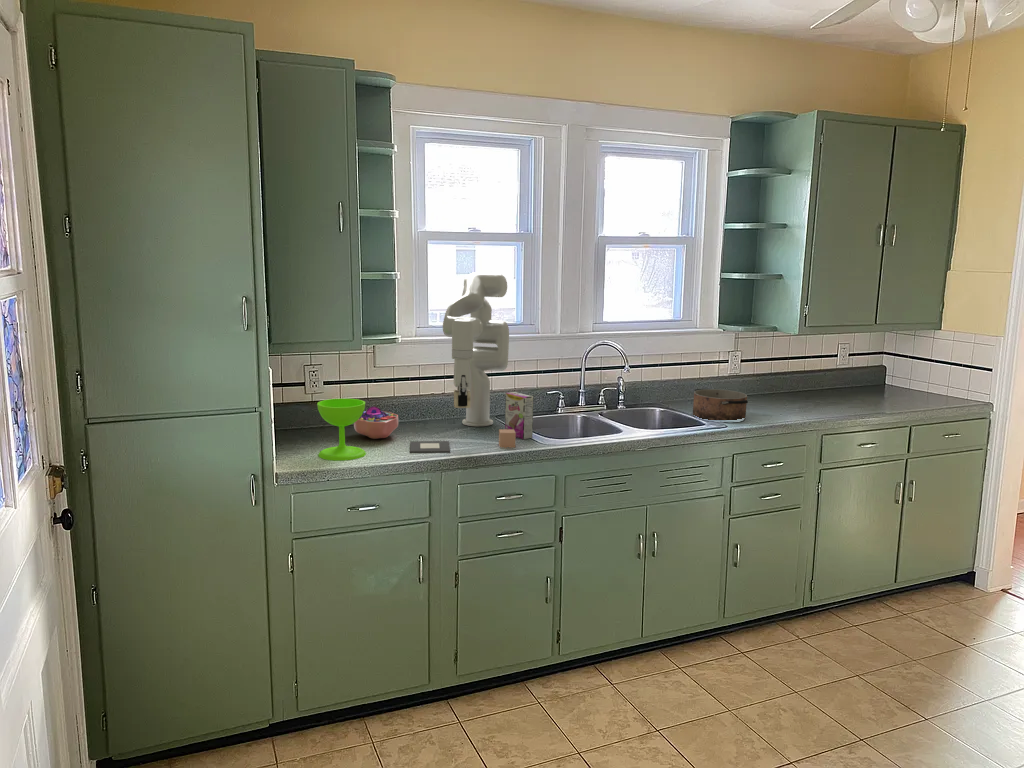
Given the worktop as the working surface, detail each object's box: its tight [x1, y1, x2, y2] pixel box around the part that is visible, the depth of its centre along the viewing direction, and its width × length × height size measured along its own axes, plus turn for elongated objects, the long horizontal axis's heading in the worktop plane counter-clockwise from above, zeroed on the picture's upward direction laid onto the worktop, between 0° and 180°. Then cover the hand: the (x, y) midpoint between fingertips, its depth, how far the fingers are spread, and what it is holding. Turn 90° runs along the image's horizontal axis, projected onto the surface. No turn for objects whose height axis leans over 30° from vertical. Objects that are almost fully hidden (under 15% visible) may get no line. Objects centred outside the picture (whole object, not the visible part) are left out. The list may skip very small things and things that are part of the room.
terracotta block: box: [498, 428, 517, 449], centre depth 282 cm, size 6×6×6 cm
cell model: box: [353, 405, 399, 440], centre depth 290 cm, size 17×20×11 cm
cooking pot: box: [692, 388, 749, 420], centre depth 338 cm, size 30×22×11 cm
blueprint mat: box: [409, 440, 451, 454], centre depth 277 cm, size 14×14×1 cm
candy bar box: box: [504, 391, 534, 440], centre depth 296 cm, size 11×5×16 cm, turn 41°
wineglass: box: [316, 398, 367, 462], centre depth 264 cm, size 16×16×18 cm
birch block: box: [453, 389, 471, 409], centre depth 277 cm, size 6×6×6 cm
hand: (461, 404), depth 277 cm, fingers closed on birch block, 5 cm apart
